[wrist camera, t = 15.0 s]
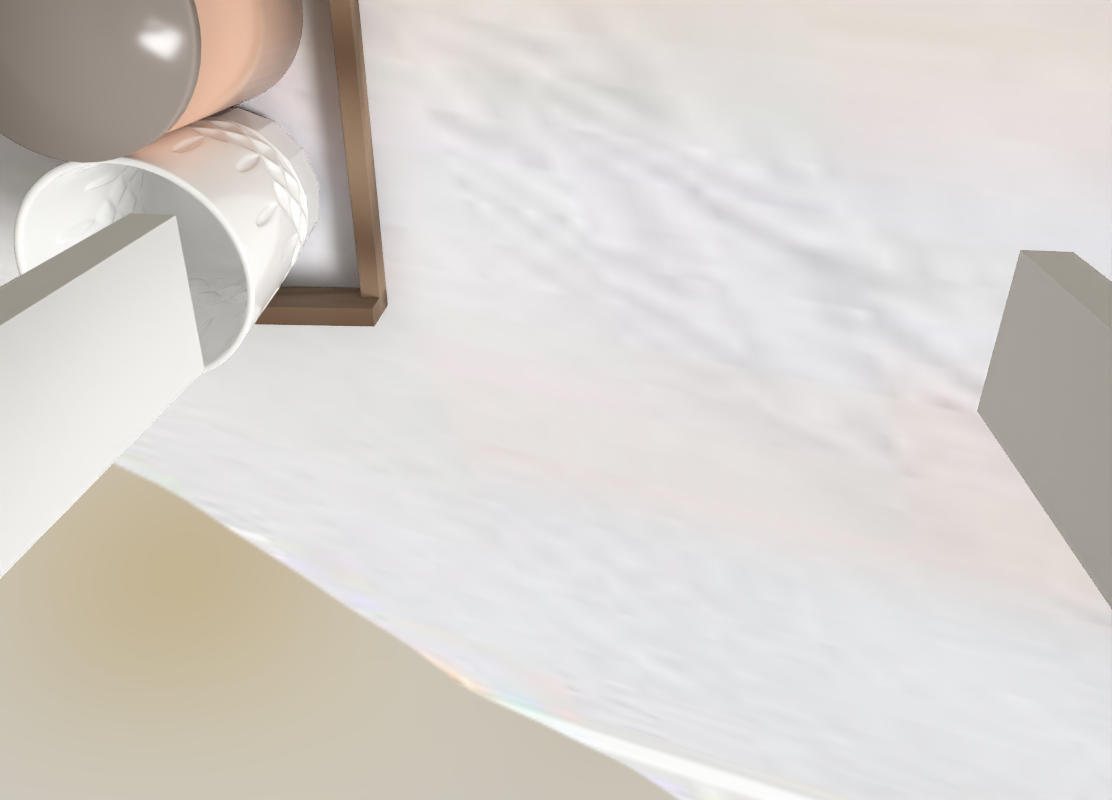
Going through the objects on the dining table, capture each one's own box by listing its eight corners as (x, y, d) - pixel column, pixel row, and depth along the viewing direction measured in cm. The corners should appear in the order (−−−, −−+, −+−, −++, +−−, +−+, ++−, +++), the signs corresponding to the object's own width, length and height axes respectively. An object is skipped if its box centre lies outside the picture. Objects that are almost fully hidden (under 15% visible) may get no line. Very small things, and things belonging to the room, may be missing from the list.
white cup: (181, 280, 41) (64, 387, 32) (124, 100, 37) (-27, 166, 28) (352, 268, 40) (279, 374, 31) (311, 83, 36) (215, 145, 27)
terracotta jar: (89, -115, 34) (-123, -141, 24) (296, -109, 33) (165, -133, 24) (128, 103, 37) (-44, 157, 27) (315, 110, 37) (208, 167, 27)
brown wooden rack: (-13, -350, 30) (-175, -424, 24) (323, -358, 30) (246, -437, 24) (136, 301, 41) (50, 365, 35) (387, 305, 40) (345, 371, 34)
